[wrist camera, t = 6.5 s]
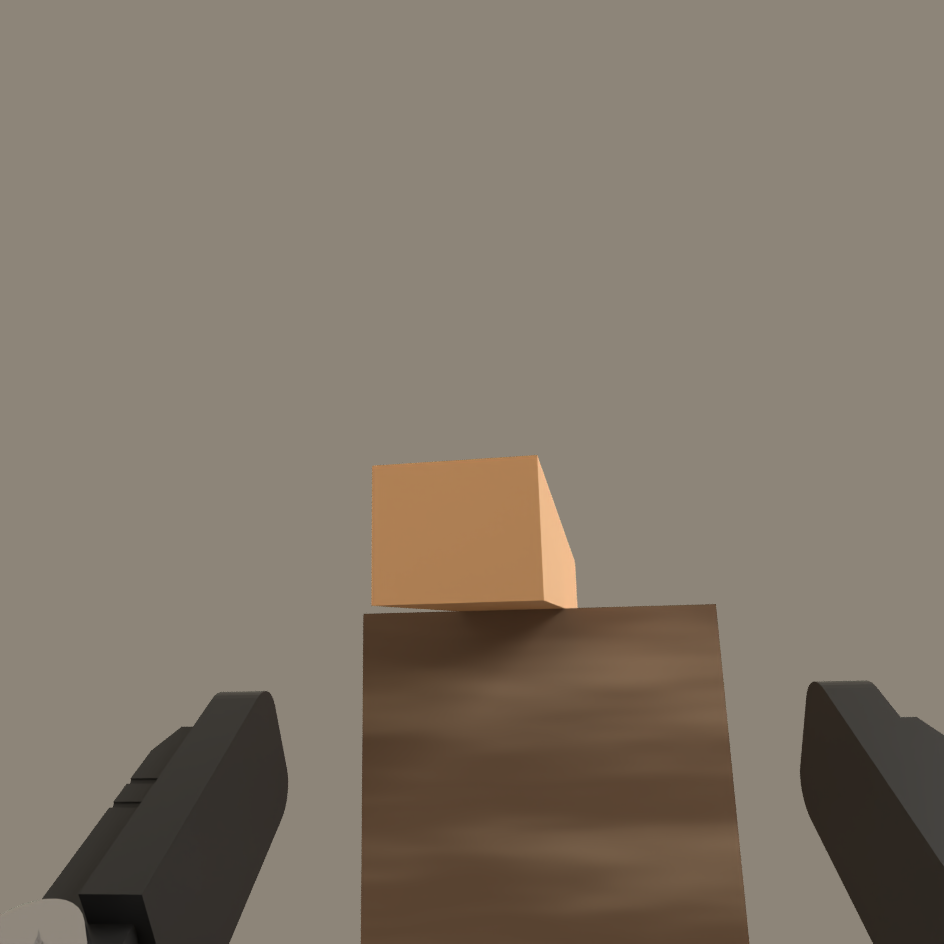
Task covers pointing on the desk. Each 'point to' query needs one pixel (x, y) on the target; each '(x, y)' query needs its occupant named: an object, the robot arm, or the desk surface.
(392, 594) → the light orange bar
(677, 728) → the pedestal
